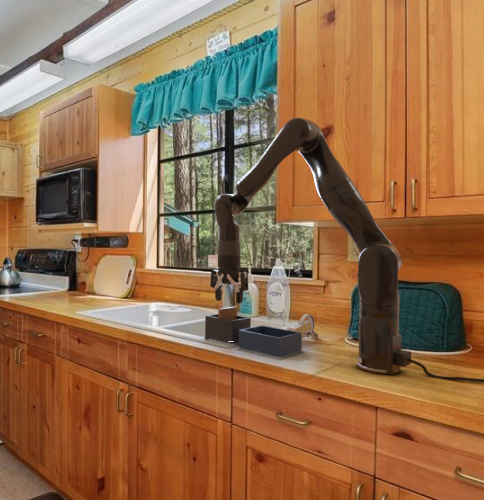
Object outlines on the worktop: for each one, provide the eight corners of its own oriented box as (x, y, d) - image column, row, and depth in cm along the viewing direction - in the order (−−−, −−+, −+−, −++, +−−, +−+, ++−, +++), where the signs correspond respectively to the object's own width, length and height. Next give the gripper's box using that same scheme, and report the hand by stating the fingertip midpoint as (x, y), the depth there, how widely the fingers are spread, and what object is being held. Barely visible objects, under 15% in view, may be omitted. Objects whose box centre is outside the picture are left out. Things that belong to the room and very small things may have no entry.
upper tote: (250, 341, 145) (250, 308, 145) (232, 345, 139) (232, 311, 139) (223, 335, 154) (223, 304, 154) (205, 339, 148) (205, 306, 148)
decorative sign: (290, 355, 140) (287, 325, 139) (286, 354, 141) (283, 325, 140) (318, 337, 151) (316, 310, 150) (315, 337, 152) (312, 309, 151)
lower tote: (301, 352, 132) (301, 332, 132) (278, 359, 124) (279, 338, 124) (261, 343, 143) (261, 325, 142) (238, 349, 135) (238, 329, 134)
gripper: (205, 253, 149) (205, 300, 149) (239, 254, 138) (238, 305, 139) (219, 253, 154) (219, 298, 154) (253, 254, 143) (253, 303, 143)
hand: (228, 301), depth 146 cm, fingers open, 8 cm apart
